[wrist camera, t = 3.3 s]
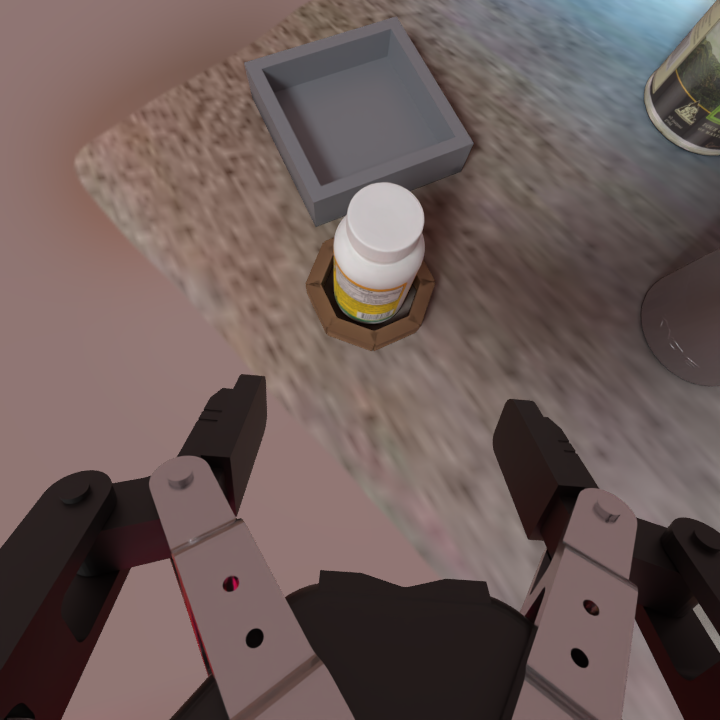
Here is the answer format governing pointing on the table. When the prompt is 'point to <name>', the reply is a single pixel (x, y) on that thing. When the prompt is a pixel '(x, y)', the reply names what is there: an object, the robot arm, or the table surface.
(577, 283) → the table surface
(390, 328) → the holder ring
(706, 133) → the coffee can
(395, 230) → the supplement bottle
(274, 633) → the robot arm
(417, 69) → the tray
